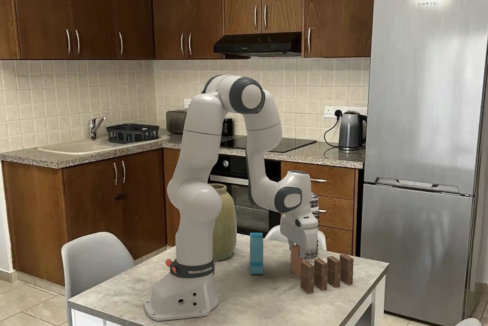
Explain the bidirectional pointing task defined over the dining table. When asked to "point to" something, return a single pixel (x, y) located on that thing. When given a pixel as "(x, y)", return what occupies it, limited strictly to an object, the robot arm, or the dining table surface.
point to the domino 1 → (295, 259)
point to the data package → (256, 253)
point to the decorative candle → (313, 254)
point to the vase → (224, 226)
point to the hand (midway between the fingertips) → (296, 253)
